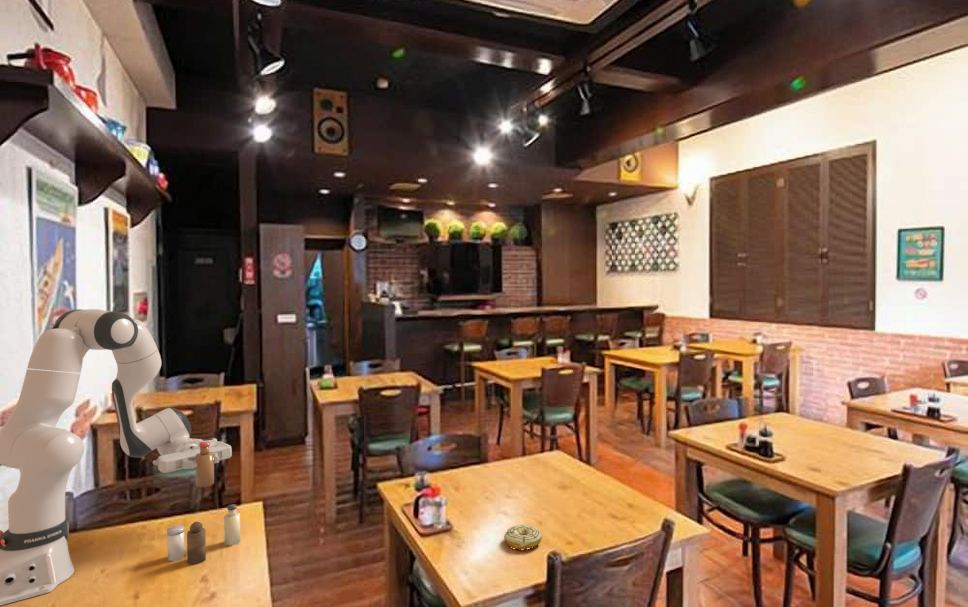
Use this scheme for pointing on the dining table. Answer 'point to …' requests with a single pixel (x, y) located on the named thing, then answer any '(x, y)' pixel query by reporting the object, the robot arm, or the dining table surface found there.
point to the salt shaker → (175, 542)
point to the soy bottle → (204, 466)
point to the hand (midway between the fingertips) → (206, 462)
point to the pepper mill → (196, 544)
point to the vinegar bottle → (232, 526)
